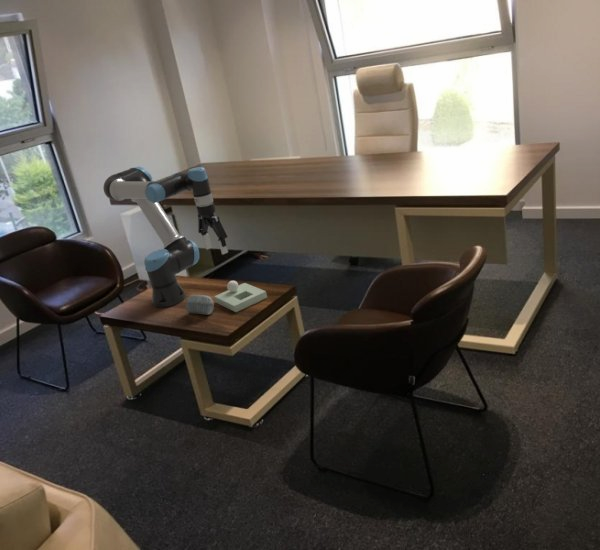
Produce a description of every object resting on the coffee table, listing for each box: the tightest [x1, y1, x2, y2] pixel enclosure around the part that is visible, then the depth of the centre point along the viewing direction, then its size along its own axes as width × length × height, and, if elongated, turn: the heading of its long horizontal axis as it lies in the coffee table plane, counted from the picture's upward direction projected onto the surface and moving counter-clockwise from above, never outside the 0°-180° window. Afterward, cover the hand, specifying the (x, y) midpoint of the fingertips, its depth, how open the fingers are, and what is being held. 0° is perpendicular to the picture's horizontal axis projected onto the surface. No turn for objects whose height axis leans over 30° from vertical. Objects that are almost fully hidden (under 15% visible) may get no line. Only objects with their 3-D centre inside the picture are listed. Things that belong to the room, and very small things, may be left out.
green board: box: [214, 282, 268, 313], centre depth 258 cm, size 18×16×3 cm
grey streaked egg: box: [185, 294, 215, 316], centre depth 253 cm, size 14×10×10 cm
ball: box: [226, 280, 239, 292], centre depth 261 cm, size 5×5×5 cm
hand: (216, 250), depth 258 cm, fingers open, 13 cm apart
